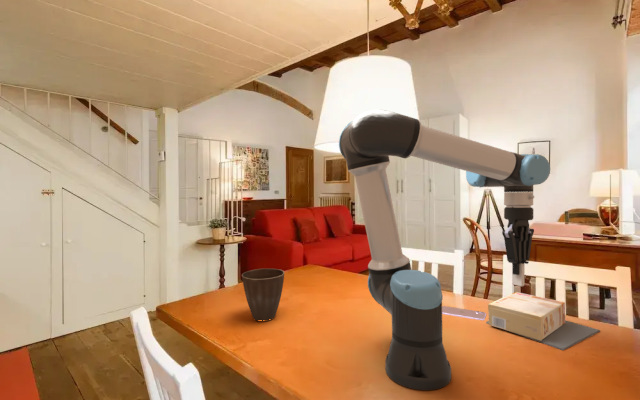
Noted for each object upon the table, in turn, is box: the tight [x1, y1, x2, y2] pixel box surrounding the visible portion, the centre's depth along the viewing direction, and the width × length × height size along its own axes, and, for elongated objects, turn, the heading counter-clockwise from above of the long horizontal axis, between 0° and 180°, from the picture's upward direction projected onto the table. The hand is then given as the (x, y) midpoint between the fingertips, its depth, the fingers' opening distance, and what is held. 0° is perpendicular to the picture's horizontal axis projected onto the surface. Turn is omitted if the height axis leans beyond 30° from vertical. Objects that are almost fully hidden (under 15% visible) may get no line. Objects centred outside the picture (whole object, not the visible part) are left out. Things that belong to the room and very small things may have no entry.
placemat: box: [486, 319, 601, 351], centre depth 103 cm, size 22×22×1 cm
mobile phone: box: [442, 305, 487, 321], centre depth 116 cm, size 8×1×15 cm
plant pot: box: [241, 268, 285, 321], centre depth 116 cm, size 15×15×16 cm
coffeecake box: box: [487, 291, 566, 341], centre depth 104 cm, size 15×7×20 cm
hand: (518, 284), depth 99 cm, fingers closed
